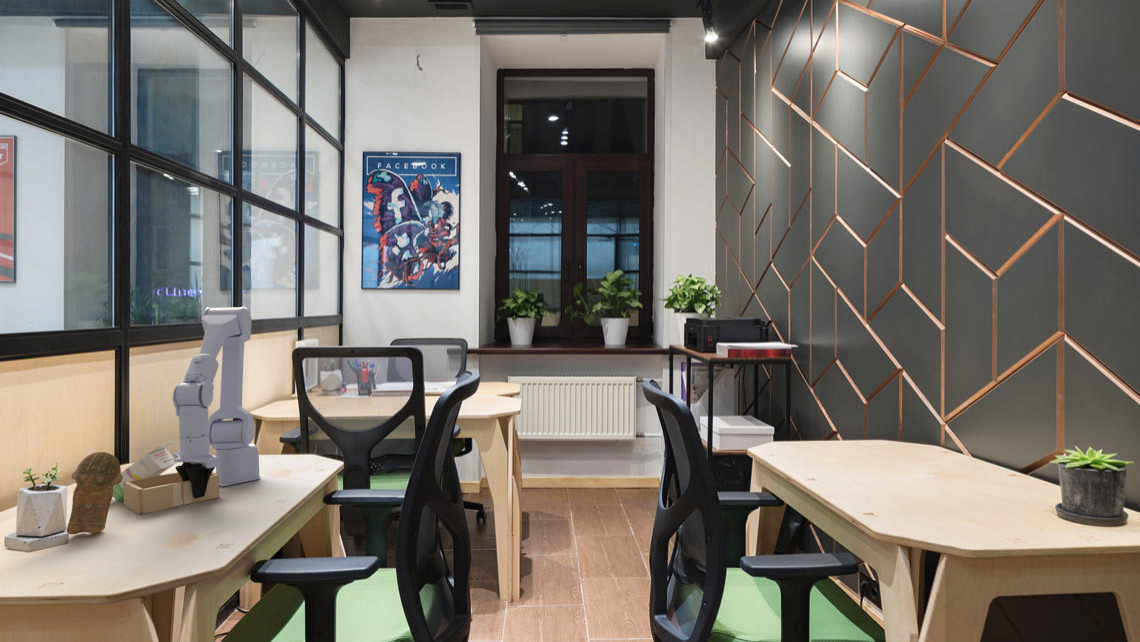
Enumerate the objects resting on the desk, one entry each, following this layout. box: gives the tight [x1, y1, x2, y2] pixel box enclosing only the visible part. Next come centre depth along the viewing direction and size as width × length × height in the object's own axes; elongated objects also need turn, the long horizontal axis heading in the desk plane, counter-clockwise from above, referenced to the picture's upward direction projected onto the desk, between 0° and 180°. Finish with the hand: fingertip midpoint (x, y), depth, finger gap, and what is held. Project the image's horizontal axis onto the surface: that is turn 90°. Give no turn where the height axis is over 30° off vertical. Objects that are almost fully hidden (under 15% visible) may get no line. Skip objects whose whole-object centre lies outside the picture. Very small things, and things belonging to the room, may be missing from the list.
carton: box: [123, 471, 220, 515], centre depth 148 cm, size 16×11×5 cm
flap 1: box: [142, 482, 183, 514], centre depth 141 cm, size 7×1×5 cm, turn 139°
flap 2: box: [182, 475, 219, 506], centre depth 147 cm, size 7×1×5 cm, turn 140°
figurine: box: [66, 451, 123, 535], centre depth 127 cm, size 8×8×15 cm
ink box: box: [112, 439, 178, 502], centre depth 153 cm, size 9×5×15 cm
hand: (196, 496), depth 145 cm, fingers closed
